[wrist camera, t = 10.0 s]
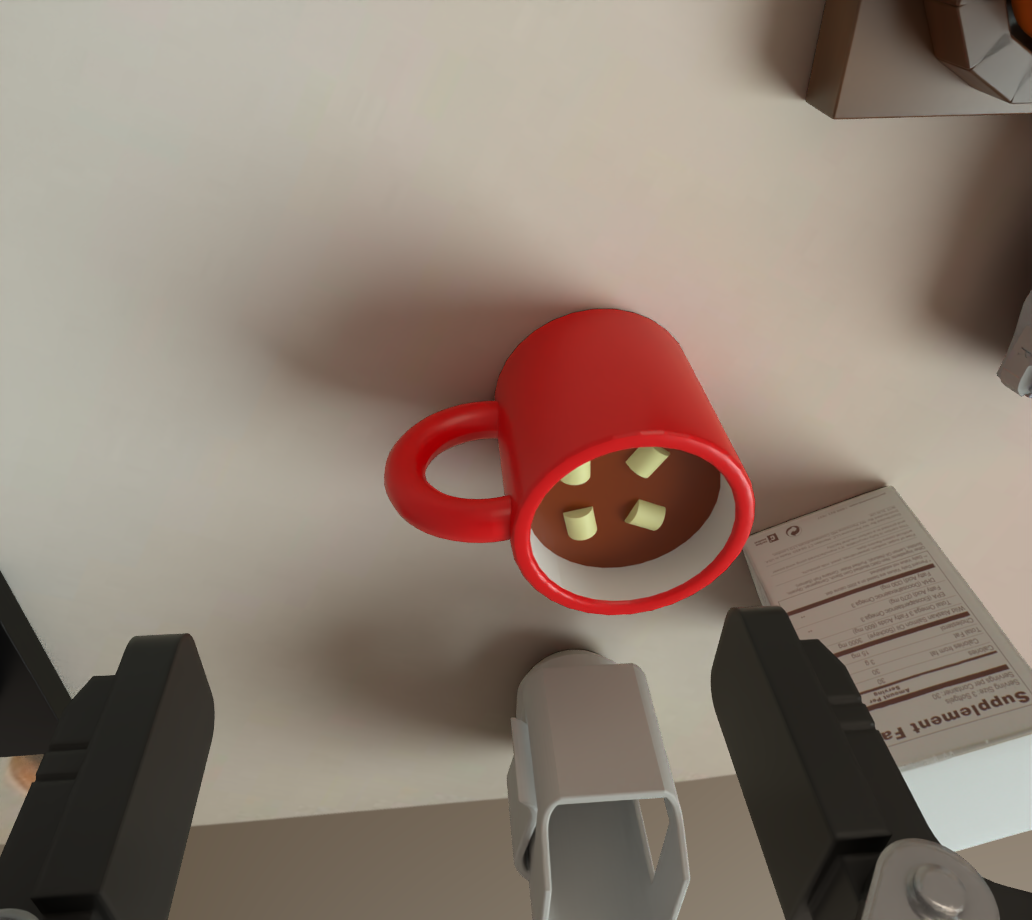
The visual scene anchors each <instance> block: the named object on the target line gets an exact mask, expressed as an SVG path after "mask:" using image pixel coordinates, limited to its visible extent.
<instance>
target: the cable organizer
mask: <svg viewBox="0 0 1032 920" xmlns="http://www.w3.org/2000/svg"><path fill="white" fill-rule="evenodd" d="M511 730H512V740H513V751H514V756H513V759H512V762H511V765H510V768H509V771H508V775H507V788H508V799H509V811H510V823H511V835H512V845H513V857H514V865H515V867H516V869H517V871H518V872H519V873H520V875H521V876H522V877H524V878H525V879H526V880H528V881H529V888H530V898H531V908H532V918H533V920H677V917H678V914H679V911H680V908H681V905H682V902H683V899H684V896H685V893H686V890H687V888H688V885H689V882H690V873H689V864H688V855H687V846H686V838H685V829H684V822H683V816H682V811H681V807H680V803H679V800H678V796H677V792H676V789H675V785H674V781H673V777H672V773H671V770H670V766H669V762H668V758H667V755H666V751H665V747H664V743H663V739H662V736H661V732H660V728H659V724H658V721H657V717H656V713H655V709H654V706H653V702H652V698H651V694H650V691H649V687H648V683H647V679H646V676H645V674H644V672H643V670H642V669H641V668H640V667H638V666H637V665H635V664H633V663H626V664H617V663H616V662H614V661H613V660H610V659H608V658H606V657H603V656H601V655H599V654H596V653H593V652H590V651H585V650H566V651H561V652H557V653H554V654H552V655H550V656H548V657H546V658H544V659H543V660H541V661H540V662H539V663H537V664H536V665H535V666H534V667H533V668H532V669H531V670H530V671H529V673H528V674H527V675H526V676H525V677H524V678H523V680H522V681H521V683H520V685H519V688H518V692H517V709H516V718H511ZM662 797H664V801H665V805H666V809H667V813H668V817H669V826H668V829H667V833H666V837H665V840H664V844H663V847H662V851H661V854H660V858H659V862H658V865H657V869H656V872H655V871H654V867H653V862H652V858H651V853H650V849H649V844H648V840H647V836H646V831H645V827H644V822H643V817H642V813H641V809H640V804H639V799H648V798H662Z"/></svg>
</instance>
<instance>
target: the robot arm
mask: <svg viewBox="0 0 1032 920" xmlns="http://www.w3.org/2000/svg"><path fill="white" fill-rule="evenodd" d="M711 693H712V700H713V704H714V708H715V712H716V715H717V718H718V721H719V724H720V727H721V729H722V732H723V735H724V738H725V741H726V744H727V747H728V750H729V753H730V756H731V759H732V762H733V765H734V768H735V771H736V774H737V777H738V780H739V783H740V786H741V789H742V792H743V795H744V798H745V801H746V804H747V806H748V809H749V812H750V815H751V818H752V821H753V824H754V827H755V830H756V833H757V836H758V839H759V842H760V845H761V848H762V851H763V854H764V857H765V860H766V863H767V866H768V869H769V872H770V874H771V877H772V880H773V884H774V886H775V889H776V892H777V895H778V898H779V901H780V904H781V907H782V910H783V913H784V916H785V919H786V920H1032V893H1030V892H1026V891H1023V890H1018V889H1015V888H1011V887H1007V886H1004V885H1000V884H997V883H994V882H992V881H990V880H987V879H985V878H983V877H982V876H981V875H980V874H979V873H978V872H977V871H976V869H975V868H974V867H973V866H972V865H970V864H969V863H968V862H967V861H966V860H965V859H964V858H962V857H961V856H960V855H958V854H957V853H955V852H954V851H952V850H950V849H949V848H947V847H945V846H943V845H941V844H940V842H939V841H938V840H937V838H936V837H935V836H934V834H933V833H932V831H931V829H930V828H929V826H928V824H927V822H926V820H925V818H924V816H923V815H922V813H921V811H920V809H919V807H918V805H917V803H916V801H915V799H914V797H913V795H912V793H911V791H910V789H909V788H908V786H907V784H906V782H905V780H904V778H903V776H902V774H901V772H900V770H899V768H898V766H897V764H896V762H895V761H894V759H893V757H892V755H891V753H890V751H889V749H888V747H887V745H886V743H885V741H884V739H883V737H882V735H881V734H880V732H879V730H876V728H875V722H874V720H873V718H872V716H871V714H870V712H869V710H868V708H867V707H866V705H865V704H863V703H862V700H861V698H862V697H861V695H860V693H859V691H858V689H857V687H856V685H855V683H854V681H853V680H852V678H851V676H850V674H849V672H848V670H847V668H846V666H845V665H844V664H843V663H842V662H841V661H840V660H839V659H838V658H837V657H836V656H835V655H834V654H833V653H832V652H831V651H830V650H829V649H828V648H827V647H826V646H825V645H824V644H823V643H822V642H821V641H820V640H819V639H807V640H800V639H799V637H798V635H797V633H796V631H795V629H794V627H793V625H792V623H791V620H790V618H789V616H788V614H787V613H786V611H785V610H784V609H783V608H782V607H780V606H758V607H738V608H731V609H729V611H728V612H727V615H726V618H725V622H724V626H723V629H722V633H721V637H720V640H719V644H718V648H717V651H716V655H715V659H714V662H713V666H712V670H711ZM213 731H214V701H213V696H212V693H211V690H210V687H209V684H208V681H207V678H206V675H205V672H204V669H203V666H202V663H201V660H200V657H199V654H198V651H197V648H196V645H195V642H194V640H193V638H192V636H191V635H190V634H188V633H186V634H167V635H147V636H135V637H133V638H132V639H131V640H130V641H129V643H128V645H127V647H126V649H125V652H124V654H123V657H122V659H121V662H120V665H119V667H118V670H117V672H116V675H110V676H93V677H92V678H91V679H90V680H89V681H88V683H87V684H86V685H85V686H84V687H83V688H82V689H81V690H80V691H79V693H78V694H77V695H76V696H75V697H74V698H73V699H72V700H71V702H70V703H69V704H68V705H67V706H66V707H65V708H64V710H63V712H62V715H61V717H60V719H59V722H58V724H57V726H56V729H55V731H54V733H53V736H52V738H51V740H50V743H49V750H48V752H45V754H44V756H43V759H42V761H41V763H40V766H39V768H38V770H37V773H36V781H35V782H32V784H31V787H30V789H29V791H28V794H27V796H26V798H25V801H24V803H23V805H22V808H21V810H20V812H19V815H18V817H17V819H16V822H15V824H14V826H13V828H12V831H11V833H10V835H9V838H8V840H7V842H6V845H5V847H4V850H3V852H2V854H1V857H0V920H168V916H169V912H170V908H171V903H172V899H173V895H174V891H175V887H176V883H177V879H178V875H179V871H180V867H181V863H182V859H183V855H184V850H185V847H186V842H187V839H188V835H189V830H190V827H191V823H192V818H193V814H194V810H195V806H196V802H197V798H198V794H199V790H200V786H201V782H202V778H203V774H204V770H205V766H206V762H207V758H208V754H209V750H210V746H211V742H212V737H213Z"/></svg>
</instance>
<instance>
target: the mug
mask: <svg viewBox="0 0 1032 920" xmlns="http://www.w3.org/2000/svg"><path fill="white" fill-rule="evenodd" d="M491 438H498V444H499V452H500V460H501V468H502V476H503V485H504V493H505V496H502V497H497V498H490V499H464V498H457V497H453V496H449V495H446V494H444V493H442V492H440V491H438V490H437V489H435V488H434V487H433V486H431V485H430V484H429V483H428V482H427V480H426V477H425V472H426V469H427V467H428V465H429V464H430V463H431V461H432V460H433V459H434V458H435V457H436V456H437V455H439V454H440V453H442V452H443V451H445V450H447V449H449V448H451V447H454V446H456V445H459V444H462V443H465V442H469V441H474V440H480V439H491ZM384 485H385V489H386V493H387V495H388V497H389V499H390V501H391V503H392V505H393V506H394V508H395V509H396V511H397V512H398V513H399V514H400V516H401V517H402V518H404V519H405V520H406V521H407V522H408V523H409V524H411V525H412V526H414V527H415V528H417V529H419V530H421V531H423V532H425V533H427V534H430V535H433V536H436V537H439V538H443V539H447V540H452V541H460V542H468V543H488V542H498V541H505V540H509V539H510V542H511V547H512V551H513V556H514V560H515V562H516V563H517V565H518V567H519V569H520V571H521V573H522V575H523V576H524V577H525V579H526V580H527V581H528V582H529V583H530V584H531V585H532V586H533V587H534V588H535V589H536V590H537V591H538V592H540V593H541V594H543V595H544V596H545V597H547V598H548V599H550V600H551V601H554V602H556V603H558V604H560V605H563V606H565V607H567V608H571V609H575V610H578V611H582V612H586V613H594V614H604V615H622V614H634V613H640V612H646V611H652V610H655V609H658V608H661V607H664V606H668V605H671V604H674V603H676V602H678V601H680V600H682V599H684V598H687V597H689V596H691V595H693V594H695V593H696V592H698V591H699V590H701V589H702V588H704V587H705V586H707V585H709V584H711V583H712V582H713V581H714V580H715V579H716V578H717V577H718V576H719V575H721V574H722V573H723V572H724V571H726V570H727V569H728V567H729V566H730V565H731V563H732V562H733V561H734V560H735V559H736V557H737V556H738V555H739V554H740V552H741V550H742V549H743V547H744V545H745V543H746V541H747V539H748V538H749V535H750V532H751V528H752V525H753V522H754V515H755V497H754V493H753V488H752V484H751V481H750V479H749V477H748V475H747V473H746V471H745V469H744V467H743V465H742V463H741V461H740V459H739V458H738V456H737V454H736V452H735V450H734V448H733V446H732V444H731V442H730V440H729V438H728V436H727V435H726V433H725V431H724V429H723V427H722V425H721V423H720V421H719V419H718V417H717V415H716V413H715V411H714V410H713V408H712V406H711V404H710V402H709V400H708V398H707V396H706V394H705V392H704V390H703V388H702V387H701V385H700V383H699V381H698V379H697V377H696V375H695V373H694V371H693V369H692V367H691V365H690V363H689V362H688V360H687V358H686V356H685V354H684V352H683V350H682V349H681V347H680V345H679V343H678V342H677V341H676V340H675V339H674V338H673V337H672V336H671V334H670V333H669V332H668V331H667V330H666V329H664V328H663V327H661V326H660V325H658V324H657V323H655V322H654V321H652V320H651V319H648V318H646V317H643V316H641V315H638V314H636V313H633V312H627V311H622V310H616V309H591V310H586V311H580V312H575V313H571V314H568V315H566V316H563V317H560V318H558V319H555V320H552V321H551V322H549V323H547V324H546V325H544V326H542V327H541V328H539V329H537V330H535V331H534V332H533V333H532V334H531V335H529V336H528V337H527V338H526V339H525V340H524V341H522V342H521V343H520V344H519V345H518V346H517V348H516V349H515V350H514V352H513V353H512V354H511V355H510V357H509V358H508V359H507V361H506V363H505V365H504V367H503V369H502V371H501V373H500V375H499V378H498V382H497V386H496V390H495V401H479V402H472V403H466V404H461V405H457V406H454V407H450V408H447V409H444V410H441V411H439V412H436V413H434V414H432V415H430V416H428V417H426V418H425V419H423V420H421V421H420V422H418V423H417V424H415V425H414V426H413V427H411V428H410V429H409V430H408V431H407V432H406V433H405V434H404V435H403V436H401V437H400V438H399V440H398V441H397V442H396V443H395V445H394V446H393V448H392V449H391V451H390V453H389V455H388V458H387V461H386V467H385V474H384Z"/></svg>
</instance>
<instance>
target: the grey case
mask: <svg viewBox="0 0 1032 920" xmlns="http://www.w3.org/2000/svg"><path fill="white" fill-rule="evenodd" d="M997 376H998V377H999V378H1000V379H1001V382H1002V383H1003V384H1004V385H1005V386H1007V387H1008V388H1010V389H1011V390H1013V391H1014V392H1016V393H1017V394H1019V395H1020V396H1024V395H1025V396H1027V397H1028V398H1032V290H1031V291H1030V293H1029V295H1028V296H1027V298H1026V300H1025V302H1024V304H1023V307H1022V310H1021V313H1020V317H1019V320H1018V323H1017V327H1016V330H1015V334H1014V336H1013V339H1012V341H1011V343H1010V346H1009V348H1008V351H1007V353H1006V355H1005V357H1004V359H1003V362H1002V364H1001V366H1000V368H999V369H998V371H997Z"/></svg>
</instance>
